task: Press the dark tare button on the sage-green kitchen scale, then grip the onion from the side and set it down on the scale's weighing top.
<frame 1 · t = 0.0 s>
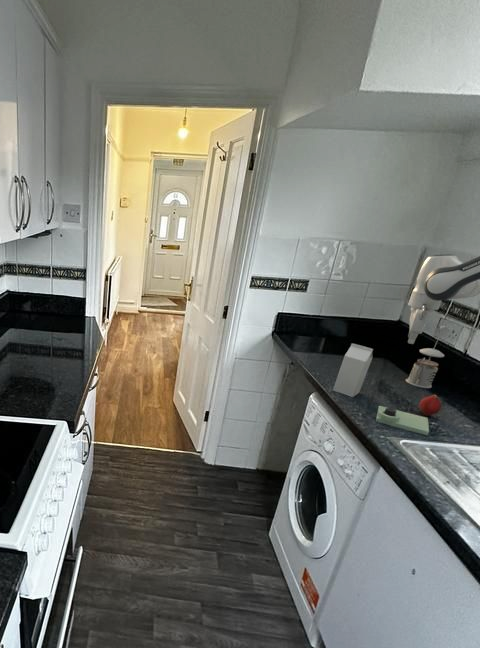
hand: (410, 340, 149), 22 cm above the counter, tool pointing down, fingers open, 8 cm apart
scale: (401, 421, 138), on the counter
onion: (425, 415, 143), on the counter
french press: (417, 385, 169), on the counter
milk carton: (345, 393, 158), on the counter
tare button: (390, 412, 136), point 4 cm above the counter, slide at 0.1 cm
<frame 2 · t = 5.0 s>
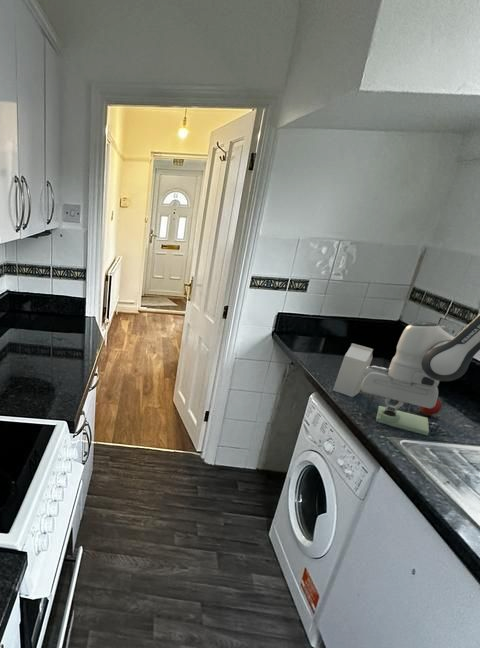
hand: (390, 411, 136), 4 cm above the counter, tool pointing down, fingers closed, pressing on tare button
tare button: (389, 413, 136), point 3 cm above the counter, slide at -0.4 cm, touching gripper
everything else where it was.
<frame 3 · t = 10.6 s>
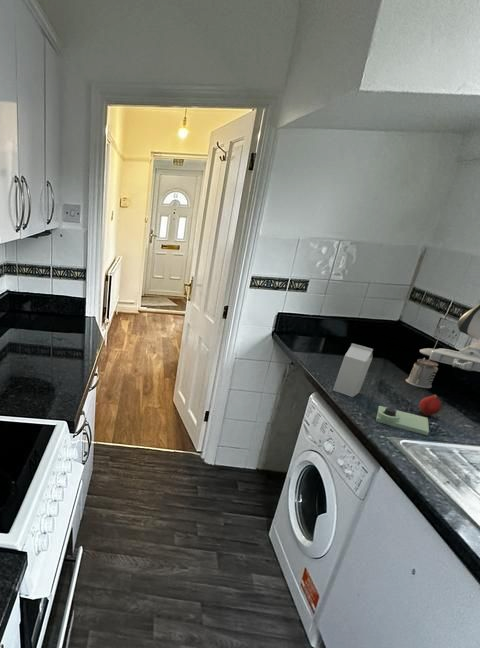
hand: (457, 365, 142), 17 cm above the counter, tool horizontal, fingers closed
tare button: (390, 412, 136), point 4 cm above the counter, slide at 0.1 cm
everything else where it was.
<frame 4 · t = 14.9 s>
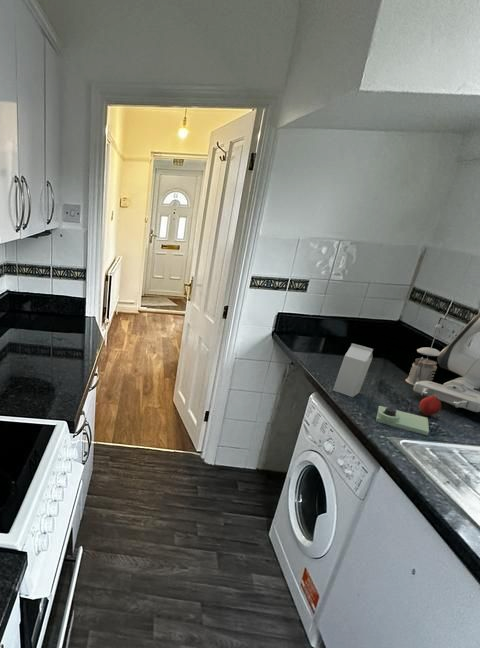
hand: (438, 399, 144), 5 cm above the counter, tool horizontal, fingers open, 8 cm apart
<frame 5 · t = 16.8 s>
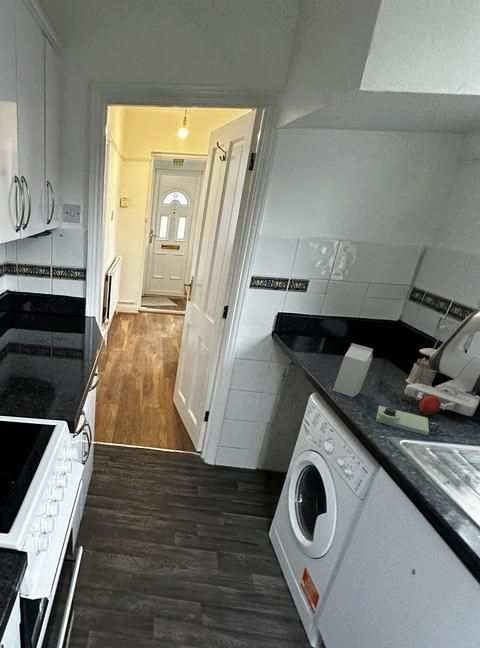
hand: (430, 402, 141), 5 cm above the counter, tool horizontal, fingers closed on onion, 5 cm apart
onion: (425, 415, 143), on the counter, touching gripper
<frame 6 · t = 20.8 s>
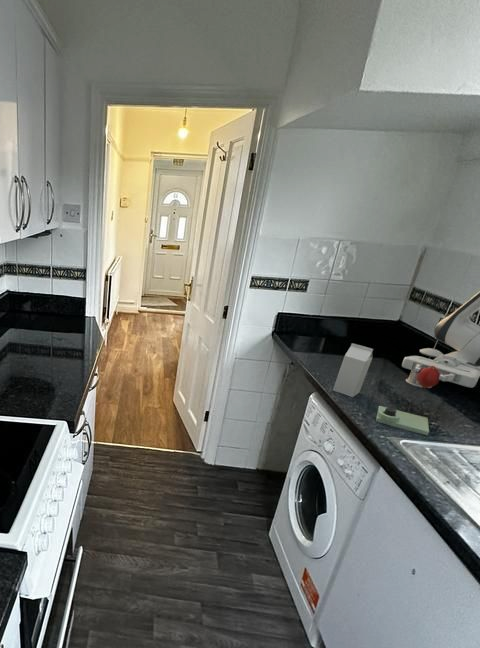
hand: (428, 374, 132), 17 cm above the counter, tool horizontal, fingers closed on onion, 5 cm apart
onion: (423, 388, 135), point 12 cm above the counter, touching gripper
everything else where it was.
when the fingers open (6 cm above the counter, at t = 24.7 s): onion stays where it is, resting on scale.
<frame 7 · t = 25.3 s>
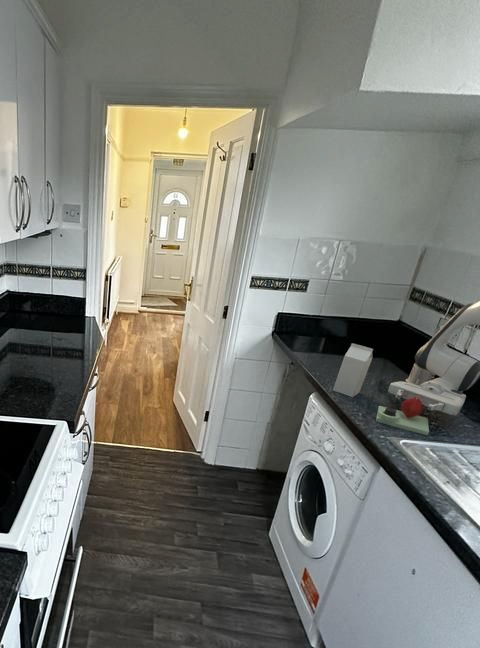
hand: (413, 401, 135), 8 cm above the counter, tool horizontal, fingers open, 8 cm apart
onion: (407, 417, 138), point 1 cm above the counter, touching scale
everything else where it was.
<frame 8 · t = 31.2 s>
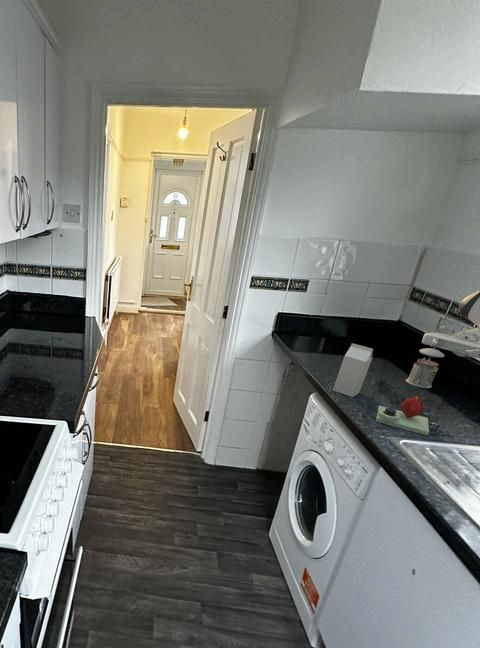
hand: (450, 348, 135), 24 cm above the counter, tool horizontal, fingers open, 8 cm apart
nothing on the counter moved.
at the end: tare button pushed in 0.9 cm at the most during the clip, back to where it started at the end; tare button slide at 0.1 cm; onion inside the target area on the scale (2.1 cm from its centre), point 1.2 cm above the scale's base; onion touching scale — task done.
